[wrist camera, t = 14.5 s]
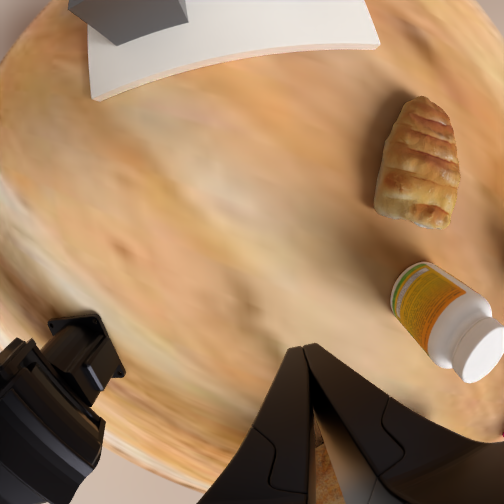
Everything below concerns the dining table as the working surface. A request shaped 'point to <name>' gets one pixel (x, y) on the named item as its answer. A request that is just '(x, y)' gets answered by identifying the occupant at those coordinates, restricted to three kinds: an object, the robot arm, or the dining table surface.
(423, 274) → the supplement bottle
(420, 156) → the pastry
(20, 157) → the dining table surface
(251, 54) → the board
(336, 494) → the rough brown rock
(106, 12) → the dark gray block
